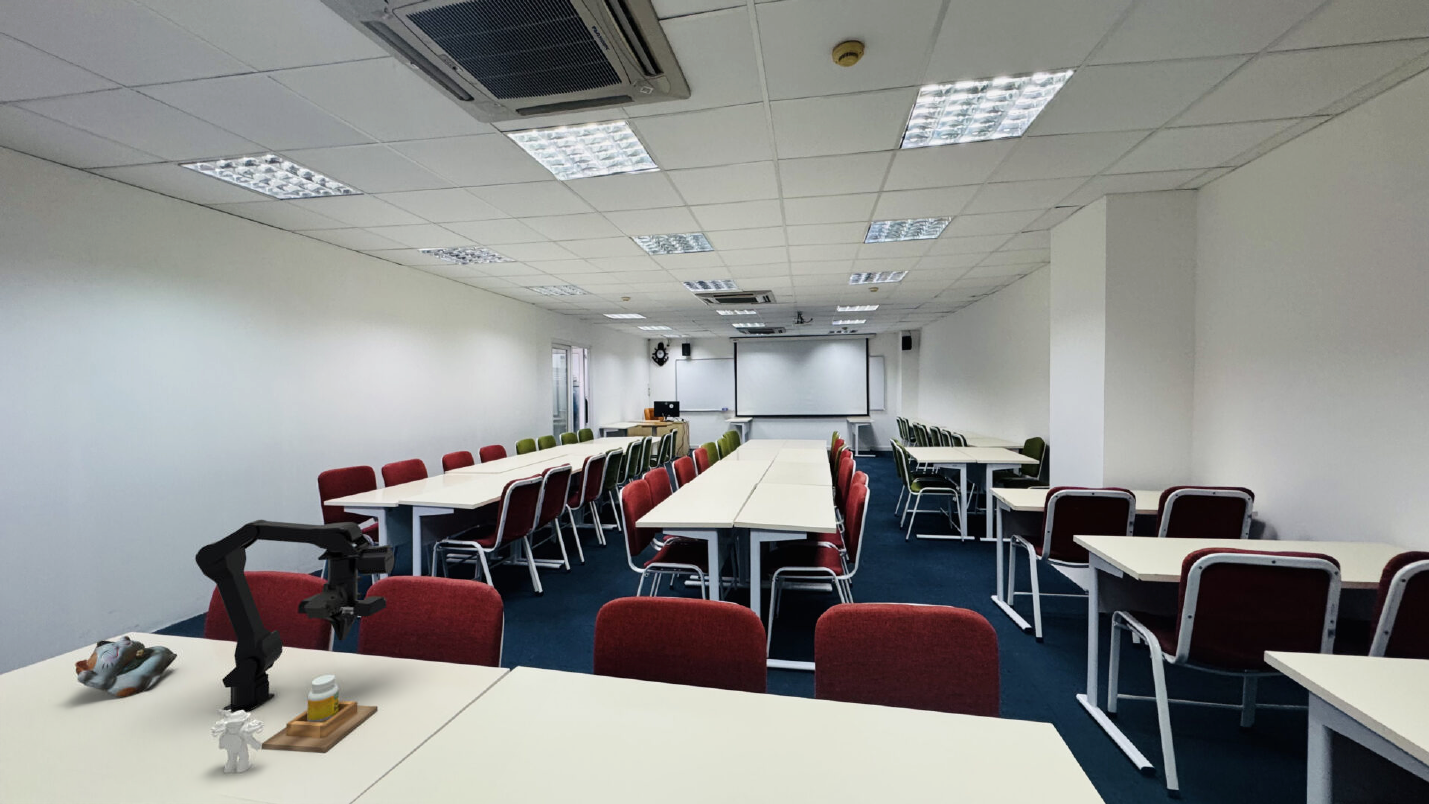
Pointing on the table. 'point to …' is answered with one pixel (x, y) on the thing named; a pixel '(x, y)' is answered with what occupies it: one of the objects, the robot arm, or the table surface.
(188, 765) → the table surface
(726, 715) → the table surface
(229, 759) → the flower shoulder figurine
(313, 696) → the supplement bottle
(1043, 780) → the table surface
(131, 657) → the lucky cat figurine
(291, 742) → the socket
